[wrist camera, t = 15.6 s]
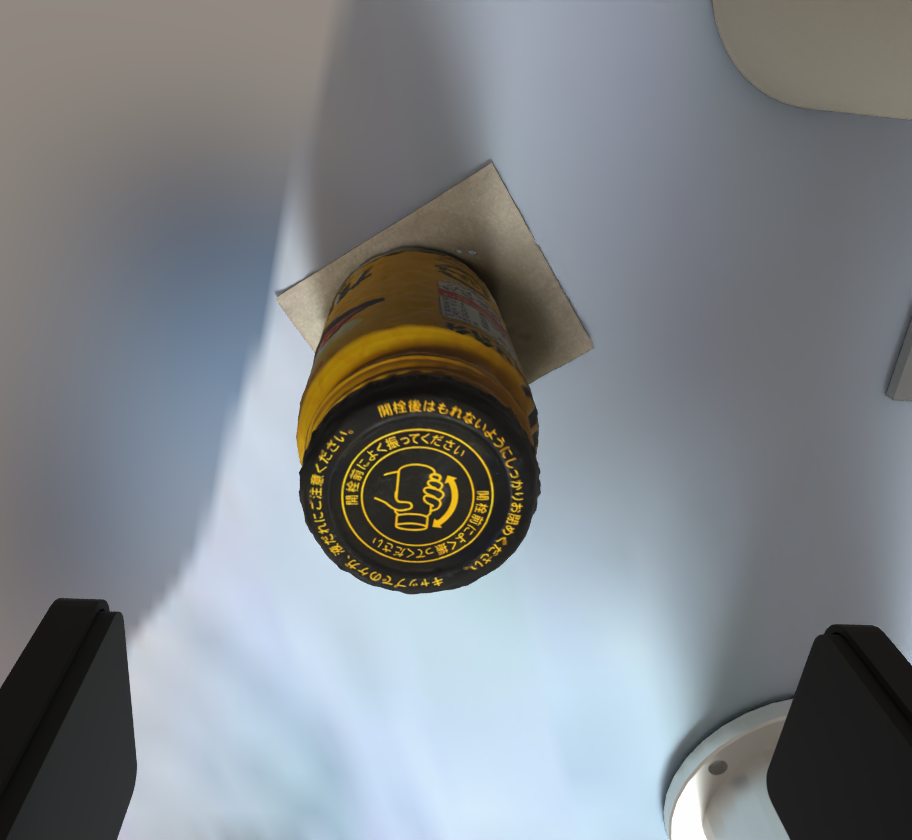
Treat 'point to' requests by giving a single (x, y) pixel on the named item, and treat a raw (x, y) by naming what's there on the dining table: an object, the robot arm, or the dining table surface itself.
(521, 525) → the condiment
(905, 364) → the turntable base
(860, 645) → the robot arm
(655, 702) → the dining table surface
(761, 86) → the travel mug
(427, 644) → the dining table surface
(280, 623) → the dining table surface
